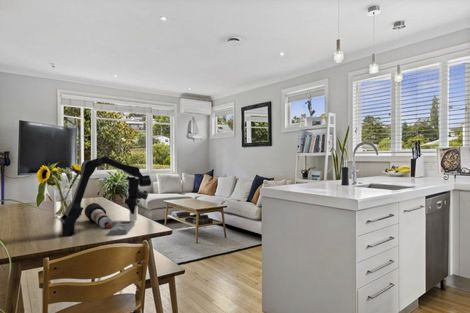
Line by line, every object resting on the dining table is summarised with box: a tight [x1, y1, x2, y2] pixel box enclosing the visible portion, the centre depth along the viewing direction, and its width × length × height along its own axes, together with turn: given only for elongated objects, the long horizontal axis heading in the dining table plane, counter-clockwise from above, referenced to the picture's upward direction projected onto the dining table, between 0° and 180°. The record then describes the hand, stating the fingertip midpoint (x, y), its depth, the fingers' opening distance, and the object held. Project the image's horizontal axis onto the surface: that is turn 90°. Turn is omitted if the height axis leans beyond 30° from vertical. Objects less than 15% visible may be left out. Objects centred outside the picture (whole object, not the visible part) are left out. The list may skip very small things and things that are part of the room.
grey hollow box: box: [109, 220, 135, 236], centre depth 163 cm, size 20×8×4 cm, turn 7°
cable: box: [84, 202, 113, 230], centre depth 178 cm, size 10×34×10 cm, turn 36°
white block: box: [129, 205, 139, 222], centre depth 181 cm, size 4×4×8 cm
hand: (133, 213), depth 181 cm, fingers closed on white block, 4 cm apart
